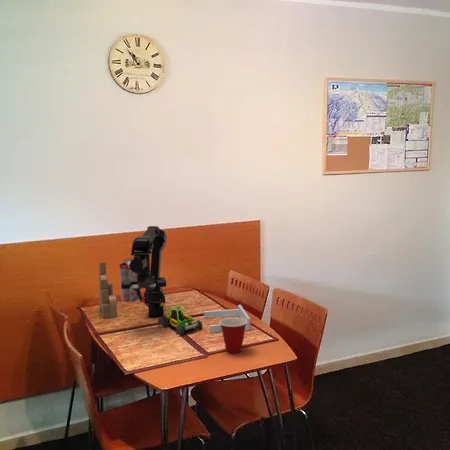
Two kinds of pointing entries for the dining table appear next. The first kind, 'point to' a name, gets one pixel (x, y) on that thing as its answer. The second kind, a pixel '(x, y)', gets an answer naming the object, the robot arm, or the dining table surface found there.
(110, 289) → the wooden toy
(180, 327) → the motor vehicle
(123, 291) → the milk carton
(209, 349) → the dining table surface
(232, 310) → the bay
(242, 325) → the plastic cup
